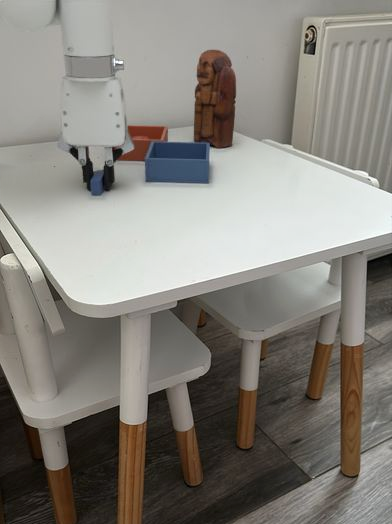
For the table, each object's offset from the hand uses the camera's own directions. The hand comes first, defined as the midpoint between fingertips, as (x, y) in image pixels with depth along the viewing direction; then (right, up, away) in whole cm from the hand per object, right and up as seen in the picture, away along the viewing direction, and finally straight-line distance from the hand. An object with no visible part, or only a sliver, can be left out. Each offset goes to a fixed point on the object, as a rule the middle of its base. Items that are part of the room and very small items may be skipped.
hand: (99, 186), depth 95 cm
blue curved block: (0, 0, +1) cm, 1 cm away
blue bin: (+13, +5, +9) cm, 17 cm away
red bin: (+5, +13, +20) cm, 24 cm away
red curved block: (+5, +13, +19) cm, 24 cm away
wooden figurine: (+20, +18, +28) cm, 39 cm away
